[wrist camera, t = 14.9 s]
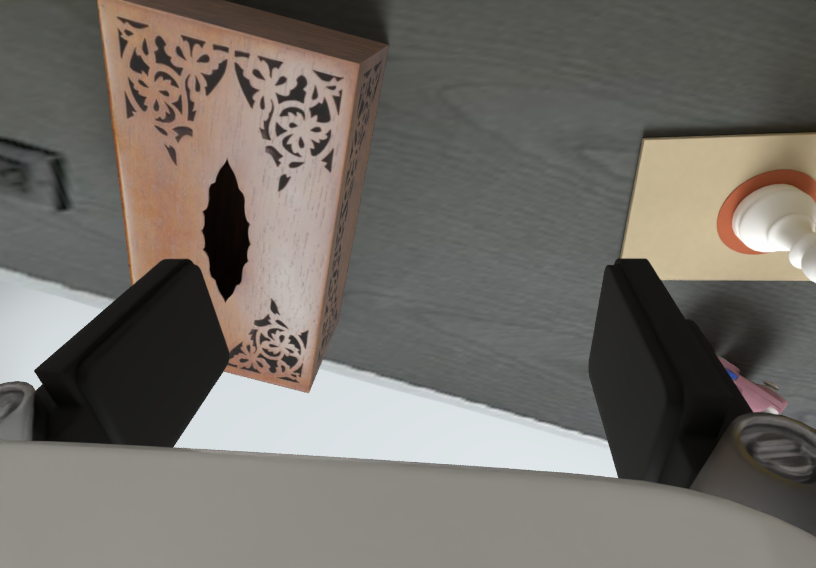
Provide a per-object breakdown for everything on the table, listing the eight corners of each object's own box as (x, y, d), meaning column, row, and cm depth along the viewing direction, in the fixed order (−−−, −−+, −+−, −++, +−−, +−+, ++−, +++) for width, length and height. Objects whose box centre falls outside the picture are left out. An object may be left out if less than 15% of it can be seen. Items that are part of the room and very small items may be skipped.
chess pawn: (773, 251, 38) (847, 318, 30) (716, 231, 37) (776, 293, 30) (821, 195, 35) (917, 253, 27) (760, 173, 35) (840, 225, 27)
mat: (642, 137, 35) (644, 140, 34) (954, 127, 32) (961, 129, 32) (616, 276, 41) (617, 280, 41) (874, 278, 38) (880, 282, 38)
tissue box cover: (338, 321, 48) (308, 393, 39) (199, 285, 47) (139, 349, 39) (389, 44, 34) (359, 63, 25) (192, -9, 33) (96, -7, 25)
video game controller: (745, 375, 47) (813, 404, 40) (719, 413, 47) (782, 449, 40) (671, 327, 45) (729, 349, 38) (645, 367, 45) (698, 396, 38)
